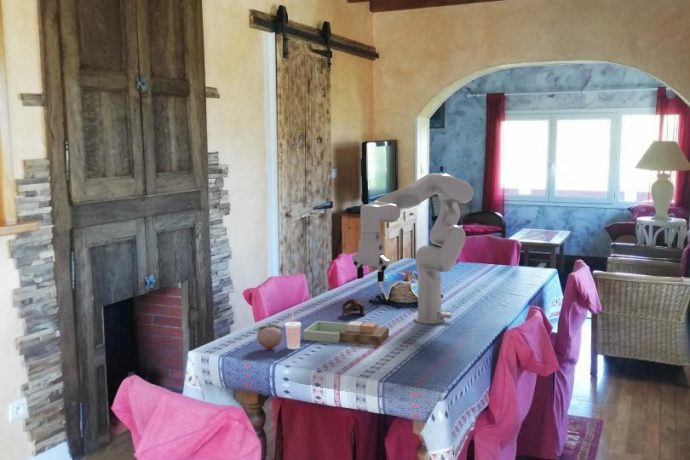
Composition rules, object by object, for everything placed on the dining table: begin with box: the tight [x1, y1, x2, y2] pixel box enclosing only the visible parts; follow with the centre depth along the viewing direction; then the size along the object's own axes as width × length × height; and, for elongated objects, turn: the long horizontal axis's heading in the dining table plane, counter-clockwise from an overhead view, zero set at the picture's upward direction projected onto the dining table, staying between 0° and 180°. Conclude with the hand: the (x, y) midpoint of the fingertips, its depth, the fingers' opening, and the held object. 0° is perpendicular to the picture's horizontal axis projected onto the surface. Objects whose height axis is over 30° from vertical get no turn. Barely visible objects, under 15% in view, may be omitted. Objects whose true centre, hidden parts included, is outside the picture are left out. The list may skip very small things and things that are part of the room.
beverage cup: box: [284, 309, 302, 350], centre depth 250 cm, size 6×6×14 cm
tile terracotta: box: [361, 321, 378, 333], centre depth 259 cm, size 5×5×2 cm
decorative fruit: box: [256, 322, 283, 350], centre depth 248 cm, size 9×8×10 cm
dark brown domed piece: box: [341, 298, 366, 317], centre depth 296 cm, size 12×10×8 cm
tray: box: [302, 320, 349, 344], centre depth 265 cm, size 14×15×4 cm
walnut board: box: [338, 326, 390, 347], centre depth 260 cm, size 16×12×4 cm
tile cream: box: [347, 320, 365, 332], centre depth 260 cm, size 5×5×2 cm
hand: (370, 279), depth 264 cm, fingers open, 9 cm apart
